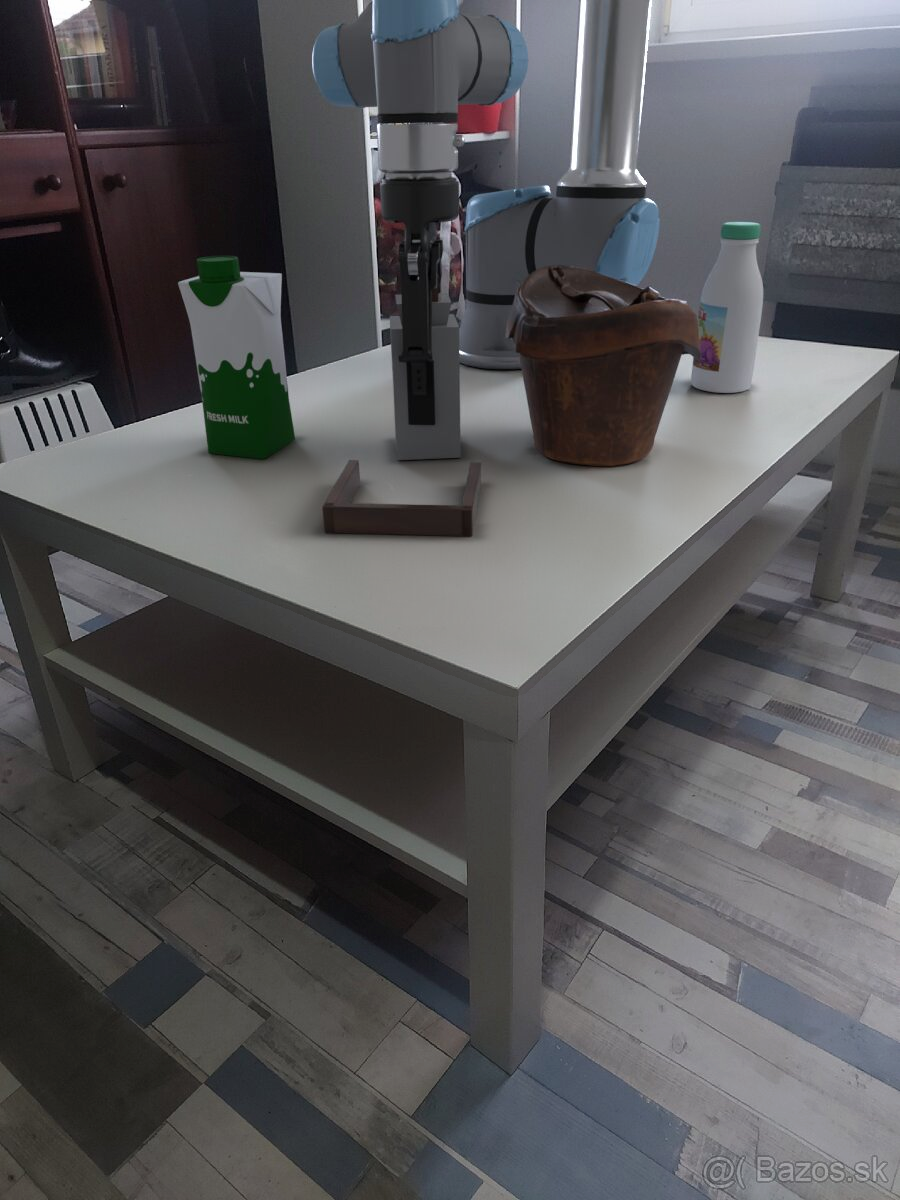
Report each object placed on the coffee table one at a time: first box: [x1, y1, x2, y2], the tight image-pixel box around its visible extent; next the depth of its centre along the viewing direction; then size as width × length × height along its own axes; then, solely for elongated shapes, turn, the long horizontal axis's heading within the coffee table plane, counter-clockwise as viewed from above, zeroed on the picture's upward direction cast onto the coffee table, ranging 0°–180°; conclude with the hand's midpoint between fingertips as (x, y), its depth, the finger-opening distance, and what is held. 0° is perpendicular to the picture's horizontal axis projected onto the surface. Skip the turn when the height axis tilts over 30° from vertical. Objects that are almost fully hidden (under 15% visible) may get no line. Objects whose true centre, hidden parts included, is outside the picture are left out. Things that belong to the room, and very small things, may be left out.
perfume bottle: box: [389, 275, 462, 461], centre depth 93 cm, size 7×7×18 cm
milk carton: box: [177, 255, 296, 460], centre depth 94 cm, size 9×9×20 cm
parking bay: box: [321, 459, 482, 537], centre depth 82 cm, size 12×13×2 cm
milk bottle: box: [690, 221, 764, 394], centre depth 113 cm, size 8×8×20 cm
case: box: [506, 265, 701, 467], centre depth 92 cm, size 18×20×18 cm
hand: (426, 414), depth 95 cm, fingers closed on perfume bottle, 6 cm apart
